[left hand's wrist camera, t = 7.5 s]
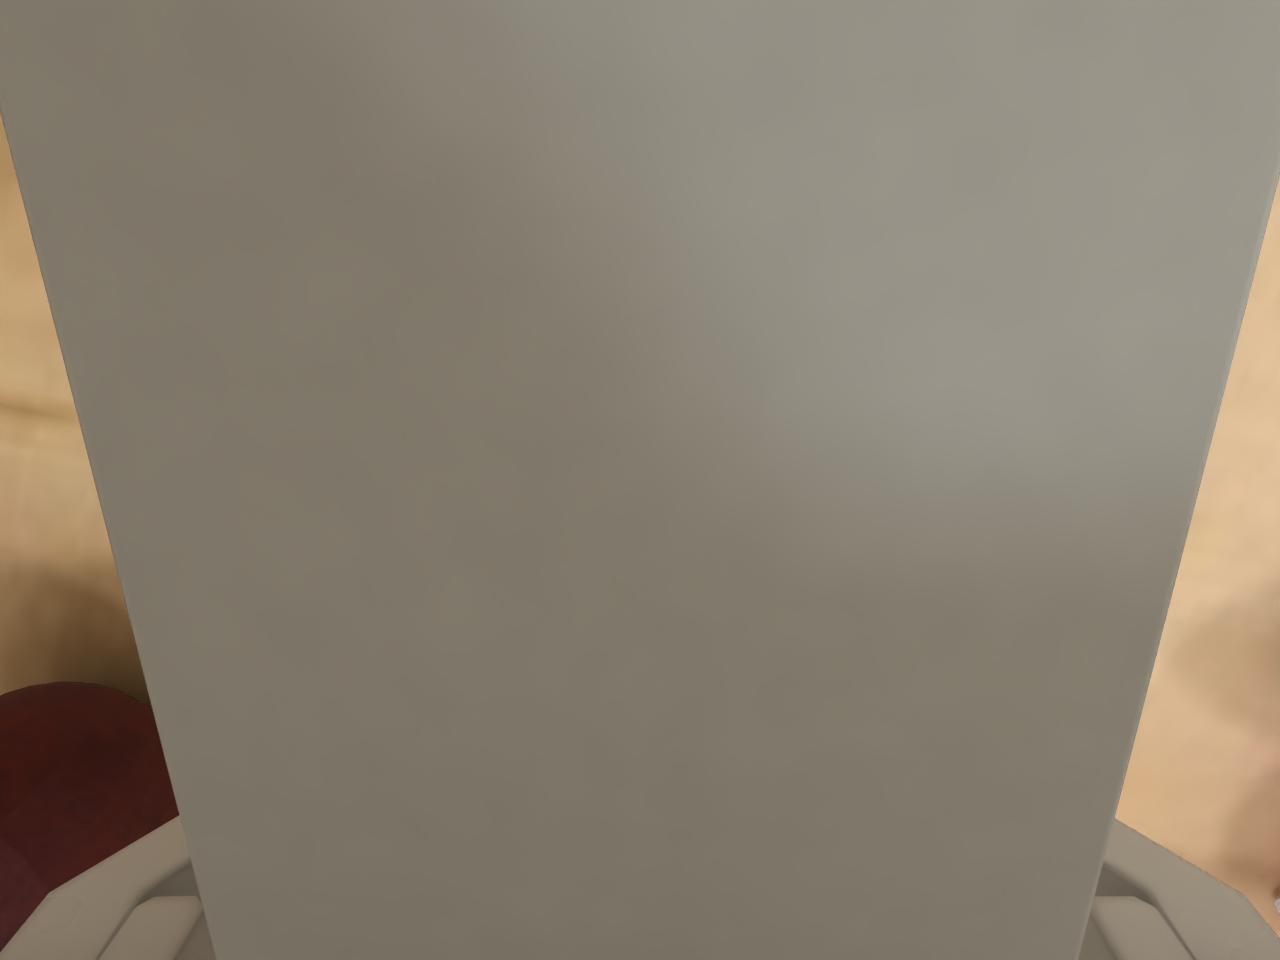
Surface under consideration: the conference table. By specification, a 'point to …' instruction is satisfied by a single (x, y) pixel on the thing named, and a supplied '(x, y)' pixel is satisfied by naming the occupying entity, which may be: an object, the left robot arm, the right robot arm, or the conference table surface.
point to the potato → (72, 787)
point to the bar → (646, 446)
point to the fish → (1277, 904)
